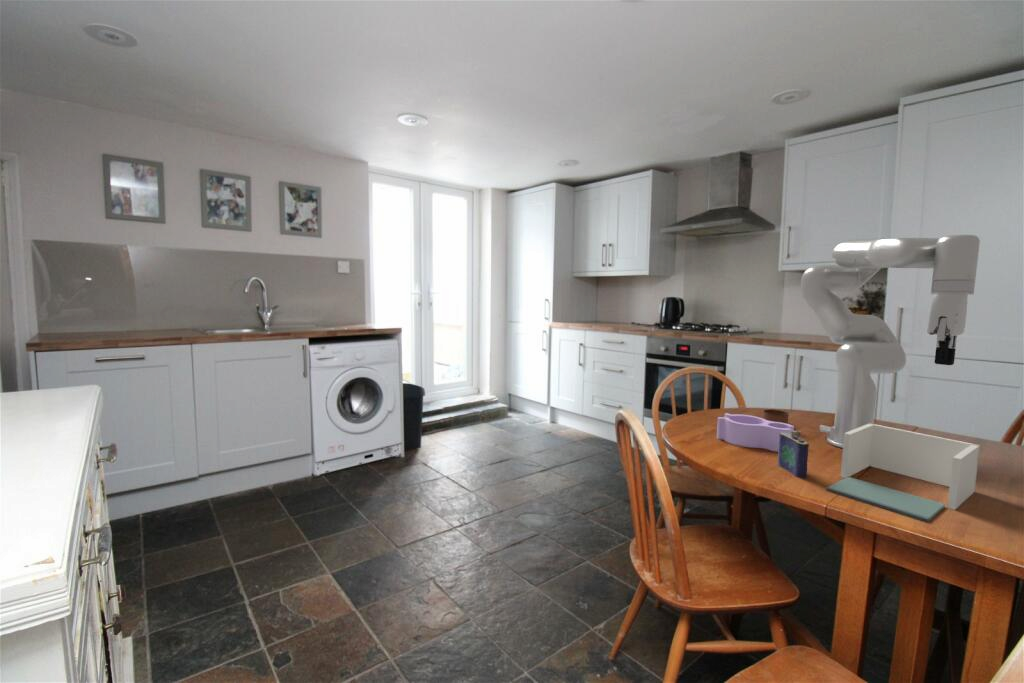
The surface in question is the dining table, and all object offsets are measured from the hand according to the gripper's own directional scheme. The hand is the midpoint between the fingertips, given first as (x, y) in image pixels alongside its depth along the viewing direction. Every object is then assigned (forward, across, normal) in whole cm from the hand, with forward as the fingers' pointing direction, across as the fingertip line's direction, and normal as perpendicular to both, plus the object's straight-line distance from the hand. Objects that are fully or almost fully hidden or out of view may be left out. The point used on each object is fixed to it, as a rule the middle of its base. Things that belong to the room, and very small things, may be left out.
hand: (944, 364), depth 113 cm
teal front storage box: (+29, +12, -2) cm, 32 cm away
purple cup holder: (+30, +9, -40) cm, 50 cm away
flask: (+29, +26, -21) cm, 45 cm away
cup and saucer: (+30, -11, -43) cm, 53 cm away
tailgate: (+28, +20, -2) cm, 35 cm away
